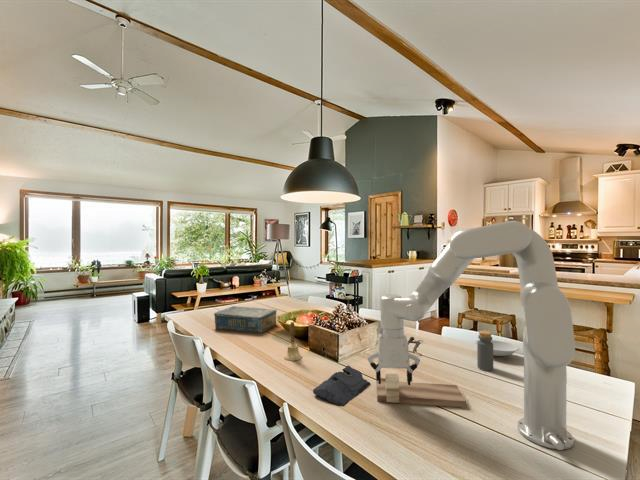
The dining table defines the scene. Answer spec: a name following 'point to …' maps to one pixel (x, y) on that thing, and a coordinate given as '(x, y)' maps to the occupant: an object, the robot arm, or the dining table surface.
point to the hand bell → (292, 347)
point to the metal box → (245, 319)
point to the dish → (502, 348)
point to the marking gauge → (392, 387)
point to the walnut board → (425, 394)
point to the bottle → (485, 351)
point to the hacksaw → (415, 345)
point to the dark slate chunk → (342, 386)
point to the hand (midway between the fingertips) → (394, 382)
